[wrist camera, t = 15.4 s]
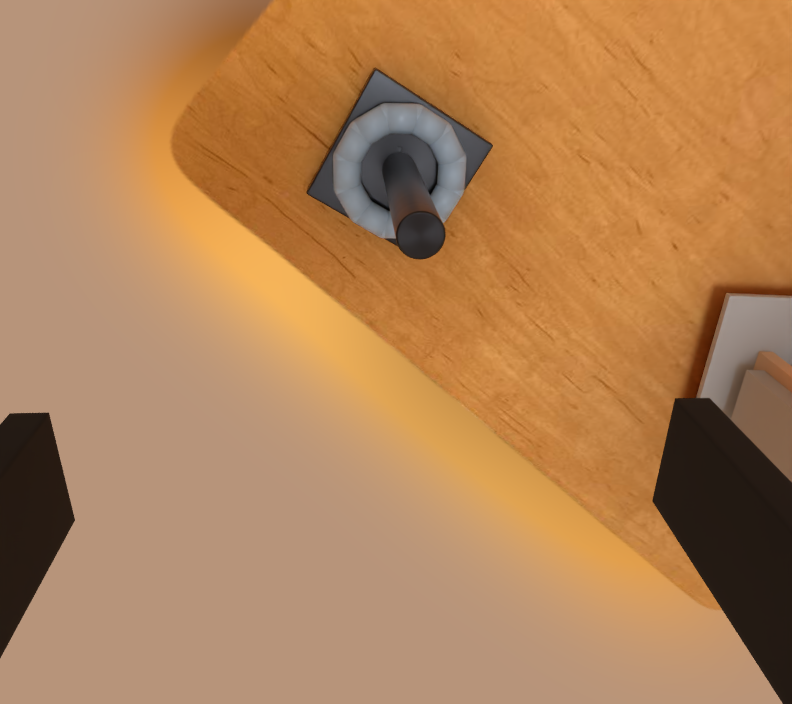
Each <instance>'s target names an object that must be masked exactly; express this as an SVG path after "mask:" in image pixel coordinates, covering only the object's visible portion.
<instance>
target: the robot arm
mask: <svg viewBox="0 0 792 704" xmlns="http://www.w3.org/2000/svg"><path fill="white" fill-rule="evenodd" d="M653 503H654V504H655V506H656V507H657V509H658V511H659V512H660V514H661V515H662V517H663V518H664V520H665V521H666V523H667V524H668V526H669V528H670V529H671V531H672V532H673V534H674V535H675V537H676V538H677V540H678V542H679V543H680V545H681V546H682V548H683V549H684V551H685V552H686V554H687V556H688V557H689V559H690V560H691V562H692V563H693V565H694V566H695V568H696V569H697V571H698V573H699V574H700V576H701V577H702V579H703V580H704V582H705V583H706V585H707V587H708V588H709V590H710V591H711V593H712V594H713V596H714V597H715V599H716V601H717V602H718V604H719V605H720V607H721V608H722V610H723V611H724V613H725V614H726V616H727V618H728V619H729V621H730V622H731V624H732V625H733V627H734V628H735V630H736V632H737V633H738V635H739V636H740V638H741V639H742V641H743V642H744V644H745V645H746V647H747V649H748V650H749V652H750V653H751V655H752V656H753V658H754V660H755V661H756V663H757V664H758V665H759V667H760V669H761V670H762V672H763V673H764V675H765V677H766V678H767V680H768V681H769V683H770V684H771V686H772V687H773V689H774V691H775V692H776V694H777V695H778V697H779V698H780V700H781V701H782V703H783V704H792V482H791V481H790V480H789V479H788V478H787V477H786V476H785V475H784V474H783V473H782V472H781V471H780V470H779V469H778V468H777V467H776V466H775V465H774V464H773V463H772V462H771V461H770V460H769V458H768V457H767V456H766V455H765V454H764V453H763V452H762V451H761V450H760V449H759V448H758V447H757V446H756V445H755V444H754V443H753V442H752V441H751V440H750V439H749V438H748V437H747V436H746V435H745V434H744V433H743V432H742V431H741V430H740V429H739V428H738V427H737V426H736V425H735V424H734V423H733V422H732V420H731V419H730V418H729V417H728V416H727V415H726V414H725V413H724V412H723V411H722V410H721V409H720V408H719V407H718V406H717V405H716V404H715V403H714V402H713V401H712V400H711V399H710V398H676V399H675V402H674V406H673V411H672V415H671V420H670V424H669V429H668V433H667V438H666V442H665V447H664V451H663V456H662V460H661V465H660V469H659V474H658V478H657V483H656V487H655V492H654V496H653ZM74 521H75V519H74V515H73V510H72V506H71V502H70V498H69V494H68V490H67V486H66V482H65V477H64V474H63V469H62V465H61V461H60V457H59V453H58V449H57V444H56V440H55V436H54V432H53V428H52V424H51V420H50V415H49V413H14V414H9V415H8V416H7V418H6V419H5V420H4V421H3V422H2V423H1V424H0V658H1V656H2V654H3V652H4V650H5V648H6V647H7V645H8V643H9V641H10V639H11V637H12V635H13V633H14V632H15V630H16V628H17V626H18V624H19V623H20V621H21V619H22V617H23V615H24V613H25V611H26V610H27V608H28V606H29V604H30V602H31V600H32V599H33V597H34V595H35V593H36V591H37V589H38V587H39V586H40V584H41V582H42V580H43V578H44V576H45V574H46V572H47V571H48V569H49V567H50V565H51V563H52V562H53V560H54V558H55V556H56V554H57V552H58V550H59V549H60V547H61V545H62V543H63V541H64V539H65V538H66V536H67V534H68V532H69V530H70V528H71V526H72V525H73V523H74Z"/></svg>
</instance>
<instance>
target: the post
mask: <svg viewBox="0 0 792 704" xmlns="http://www.w3.org/2000/svg"><path fill="white" fill-rule="evenodd" d="M383 103H414V104H421V105H423V106H424V107H426V108H427V109H429V110H430V111H432V112H433V113H435V114H437V115H438V116H440V117H441V118H443V119H444V120H446V121H447V122H449V123H450V124H451V126H452V128H453V130H454V132H455V134H456V136H457V138H458V140H459V142H460V144H461V146H462V148H463V150H464V152H465V155H466V173H465V188H464V190H465V189H466V187H467V186H468V184H469V183H470V181H471V179H472V178H473V176H474V175H475V173H476V172H477V170H478V169H479V167H480V165H481V164H482V162H483V161H484V159H485V158H486V156H487V154H488V153H489V151H490V150H491V148H492V147H493V145H492V144H491V143H490V142H489V141H487V140H485V139H484V138H482V137H481V136H479V135H478V134H476V133H475V132H473V131H472V130H470V129H469V128H467V127H466V126H464V125H463V124H461V123H459V122H458V121H456V120H455V119H453V118H452V117H450V116H449V115H447V114H446V113H444V112H443V111H441V110H440V109H438V108H437V107H435V106H433V105H432V104H430V103H429V102H427V101H426V100H424V99H423V98H421V97H420V96H418V95H417V94H415V93H414V92H412V91H410V90H409V89H407V88H406V87H404V86H403V85H401V84H400V83H398V82H397V81H395V80H394V79H392V78H391V77H389V76H388V75H386V74H384V73H383V72H381V71H380V70H378V69H377V68H374V69H373V71H372V73H371V75H370V77H369V79H368V80H367V82H366V84H365V86H364V88H363V89H362V91H361V93H360V95H359V97H358V99H357V100H356V102H355V104H354V106H353V108H352V109H351V111H350V113H349V115H348V117H347V118H346V120H345V122H344V124H343V126H342V128H341V129H340V131H339V133H338V135H337V137H336V138H335V140H334V142H333V144H332V146H331V148H330V149H329V151H328V153H327V155H326V157H325V158H324V160H323V162H322V164H321V166H320V168H319V169H318V171H317V173H316V175H315V177H314V178H313V180H312V182H311V184H310V186H309V187H308V190H307V194H308V195H310V196H312V197H313V198H315V199H317V200H318V201H320V202H322V203H324V204H325V205H327V206H329V207H331V208H332V209H334V210H336V211H338V212H339V213H341V214H343V215H344V216H346V217H348V218H349V216H348V214H347V213H346V211H345V209H344V208H343V206H342V204H341V203H340V201H339V199H338V197H337V196H336V194H335V192H334V187H333V154H334V152H335V150H336V148H337V146H338V144H339V142H340V141H341V139H342V137H343V135H344V133H345V132H346V130H347V128H348V126H349V124H350V123H351V122H352V121H353V120H355V119H356V118H358V117H360V116H361V115H363V114H365V113H367V112H368V111H370V110H372V109H373V108H375V107H377V106H378V105H380V104H383ZM437 176H438V162H437V160H436V158H435V156H434V154H433V152H432V150H431V148H430V146H429V145H428V144H427V143H425V142H423V141H422V140H420V139H419V138H417V137H415V136H414V135H412V134H389V135H387V136H385V137H383V138H382V139H380V140H378V141H376V142H375V143H373V144H372V145H371V146H370V148H369V150H368V152H367V153H366V155H365V157H364V159H363V160H362V162H361V184H362V185H363V187H364V189H365V191H366V192H367V194H368V196H369V198H370V200H371V201H372V202H374V203H376V204H378V205H379V206H381V207H383V208H384V209H386V210H388V211H390V213H391V218H392V222H393V227H394V232H395V237H396V238H384V239H386V240H388V241H389V242H391V243H393V244H395V245H396V246H398V247H399V249H400V250H401V251H402V252H403V253H404V254H405V255H407V256H408V257H410V258H413V259H426V258H429V257H431V256H433V255H435V254H436V253H437V252H438V251H439V250H440V249H441V248H442V246H443V244H444V241H445V228H444V225H443V223H442V220H441V218H440V216H439V214H438V212H437V210H436V207H435V205H434V203H433V201H432V199H431V197H430V195H431V193H432V191H433V190H434V188H435V186H436V185H437Z"/></svg>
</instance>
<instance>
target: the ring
mask: <svg viewBox="0 0 792 704" xmlns="http://www.w3.org/2000/svg"><path fill="white" fill-rule="evenodd" d="M389 134H412V135H414V136H415V137H417V138H419V139H420V140H422V141H423V142H425V143H427V144H428V145H429V146H430V148H431V150H432V152H433V154H434V156H435V158H436V160H437V162H438V176H437V185H436V186H435V188H434V190H433V191H432V193H431V195H430V197H431V199H432V201H433V203H434V205H435V207H436V210H437V212H438V214H439V216H440V218H441V220H442V223H444V222H445V221H446V220H447V219H448V217H449V215H450V214H451V212H452V211H453V209H454V208H455V206H456V205H457V203H458V201H459V200H460V198H461V197H462V195H463V193H464V188H465V173H466V155H465V152H464V150H463V148H462V146H461V144H460V142H459V140H458V138H457V136H456V134H455V132H454V130H453V128H452V126H451V124H450V123H449V122H447V121H446V120H444V119H443V118H441V117H440V116H438V115H437V114H435V113H433V112H432V111H430V110H429V109H427V108H426V107H424V106H423V105H421V104H414V103H383V104H380V105H378V106H377V107H375V108H373V109H372V110H370V111H368V112H367V113H365V114H363V115H361V116H360V117H358V118H356V119H355V120H353V121H352V122H351V123H350V124H349V126H348V128H347V130H346V132H345V133H344V135H343V137H342V139H341V141H340V142H339V144H338V146H337V148H336V150H335V152H334V154H333V187H334V192H335V194H336V196H337V197H338V199H339V201H340V203H341V204H342V206H343V208H344V209H345V211H346V213H347V214H348V216H349V218H350V219H351V221H352V222H354V223H355V224H357V225H359V226H361V227H362V228H364V229H366V230H368V231H369V232H371V233H373V234H375V235H376V236H378V237H380V238H396V237H395V232H394V227H393V222H392V218H391V213H390V211H388V210H386V209H384V208H383V207H381V206H379V205H378V204H376V203H374V202H372V201H371V200H370V198H369V196H368V194H367V192H366V191H365V189H364V187H363V185H362V184H361V162H362V160H363V159H364V157H365V155H366V153H367V152H368V150H369V148H370V146H371V145H372V144H373V143H375V142H376V141H378V140H380V139H382V138H383V137H385V136H387V135H389Z"/></svg>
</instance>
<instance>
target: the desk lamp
mask: <svg viewBox="0 0 792 704" xmlns="http://www.w3.org/2000/svg"><path fill="white" fill-rule="evenodd" d="M696 398H710V399H711V400H712V401H713V402H714V403H715V404H716V405H717V406H718V407H719V408H720V409H721V410H722V411H723V412H724V413H725V414H726V415H727V416H728V417H729V418H730V419H731V420H732V422H733V423H734V424H735V425H736V426H737V427H738V428H739V429H740V430H741V431H742V432H743V433H744V434H745V435H746V436H747V437H748V438H749V439H750V440H751V441H752V442H753V443H754V444H755V445H756V446H757V447H758V448H759V449H760V450H761V451H762V452H763V453H764V454H765V455H766V456H767V457H768V458H769V460H770V461H771V462H772V463H773V464H774V465H775V466H776V467H777V468H778V469H779V470H780V471H781V472H782V473H783V474H784V475H785V476H786V477H787V478H788V479H789V480H790V481H791V482H792V296H785V295H761V294H738V293H726V296H725V299H724V303H723V306H722V310H721V313H720V317H719V320H718V324H717V327H716V331H715V334H714V337H713V341H712V344H711V348H710V351H709V355H708V358H707V362H706V365H705V369H704V372H703V376H702V379H701V382H700V386H699V389H698V393H697V396H696Z"/></svg>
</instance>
